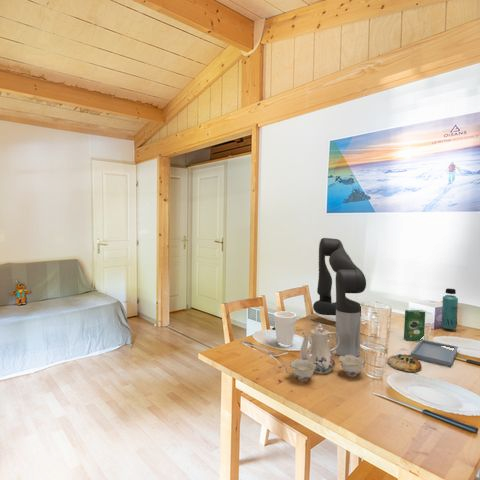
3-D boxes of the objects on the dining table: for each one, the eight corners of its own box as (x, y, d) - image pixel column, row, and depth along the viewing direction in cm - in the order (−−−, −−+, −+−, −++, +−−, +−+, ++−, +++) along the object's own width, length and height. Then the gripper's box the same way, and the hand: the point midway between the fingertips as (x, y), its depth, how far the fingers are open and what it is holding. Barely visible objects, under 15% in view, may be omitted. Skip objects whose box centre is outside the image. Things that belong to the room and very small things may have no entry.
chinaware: (295, 394, 103) (298, 344, 100) (275, 366, 119) (277, 322, 116) (372, 381, 111) (376, 335, 108) (343, 357, 127) (346, 316, 124)
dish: (450, 367, 117) (450, 362, 117) (410, 358, 126) (410, 353, 126) (457, 351, 132) (457, 346, 132) (421, 343, 140) (421, 339, 140)
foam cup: (289, 350, 133) (289, 319, 132) (269, 345, 139) (269, 315, 138) (299, 343, 141) (300, 313, 140) (281, 339, 146) (281, 310, 146)
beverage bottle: (438, 328, 160) (439, 288, 158) (446, 327, 162) (448, 286, 161) (451, 333, 154) (453, 290, 153) (460, 331, 157) (461, 289, 155)
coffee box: (420, 338, 147) (421, 309, 146) (424, 340, 144) (425, 311, 143) (403, 338, 146) (404, 309, 146) (407, 341, 144) (407, 311, 143)
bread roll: (417, 361, 123) (417, 348, 122) (425, 378, 113) (425, 365, 112) (385, 358, 126) (385, 346, 125) (389, 375, 116) (389, 362, 115)
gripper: (347, 307, 156) (383, 313, 146) (358, 301, 167) (392, 306, 157) (347, 322, 157) (383, 330, 147) (358, 316, 168) (392, 322, 158)
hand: (387, 318), depth 152 cm, fingers open, 8 cm apart
